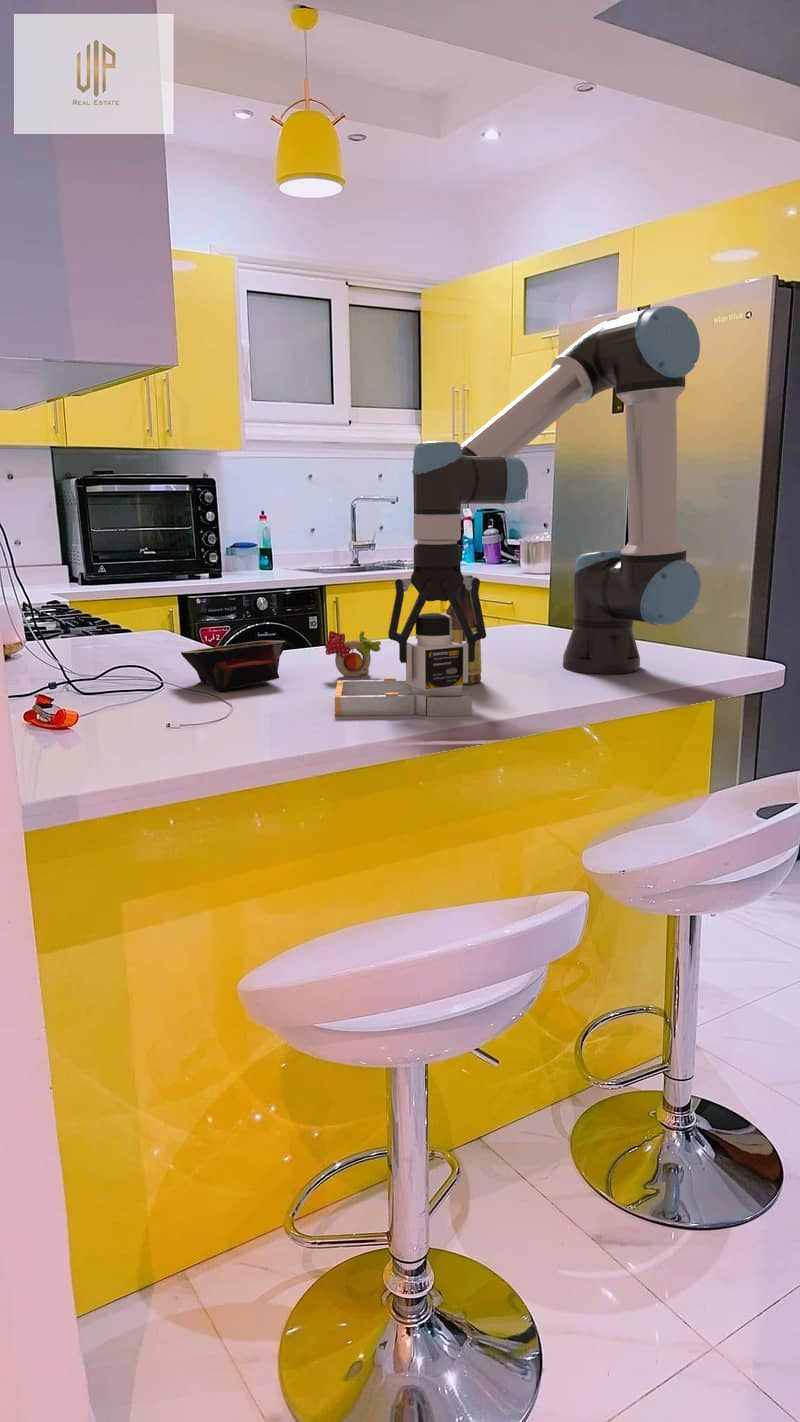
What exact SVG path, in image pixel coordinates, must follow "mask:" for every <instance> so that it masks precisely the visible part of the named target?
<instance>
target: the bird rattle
mask: <svg viewBox="0 0 800 1422" xmlns="http://www.w3.org/2000/svg"><path fill="white" fill-rule="evenodd" d="M381 645H382V642H381V641H380V640H376V641H371V640H370V639H368V638H367V637H365V631H360V633H359V640H349V641H348V640H347V641H346V634H345V633H340V632H339V633H338V632H335V631H333V630H330V631H329V633H328V640H327V642H326V643H325V646H324V648H325V649H326V650H325V654H326V655H328V656H330V655H334V654H335V661H334V662H335V667H336V669H337V671H338V672H339V673H340V674H341V675H342V676H344V677H346V678H350V677H349V676H354V677H360V675H361V676H362V675H369V673H370V670H369V667H370V665H371V659H372V658H371V657H372V656H371V651H372V652H375V653H377V652H379V651H380V650H381V647H380V646H381ZM354 650H356V651H357V652H354Z"/></svg>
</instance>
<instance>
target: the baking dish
mask: <svg viewBox="0 0 800 1422" xmlns="http://www.w3.org/2000/svg"><path fill="white" fill-rule="evenodd" d="M287 645H288V642H287V641H286V640H257V641H249V642H248V641H247V642H241V643H237V644H228V645H220V646H214V647H213V646H212V647H205V648H198V649H192V650H186V651H181V652H180V654H181V656H182V657H183V658H184V659H185V660H186V661H187V663H188V664H189V665H190V666H191V667H192V668H193V669H194V670H195V671H196V674H197V675H198V678H199V681H200V682H203V683H204V682H205V683H207V684H209V685H210V686H211V688H212V689H214V690H216V691H218V692H221V691H227V690H233V689H238V688H241V687H246V686H247V687H248V686H250V685H256V684H260V683H264V682H269V681H274V680H277V679H280V676H279V675H280V674H279V673H278V670H279V664H280V658H281V655H282V653H283V651H284V650H285V648H286V646H287Z"/></svg>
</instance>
